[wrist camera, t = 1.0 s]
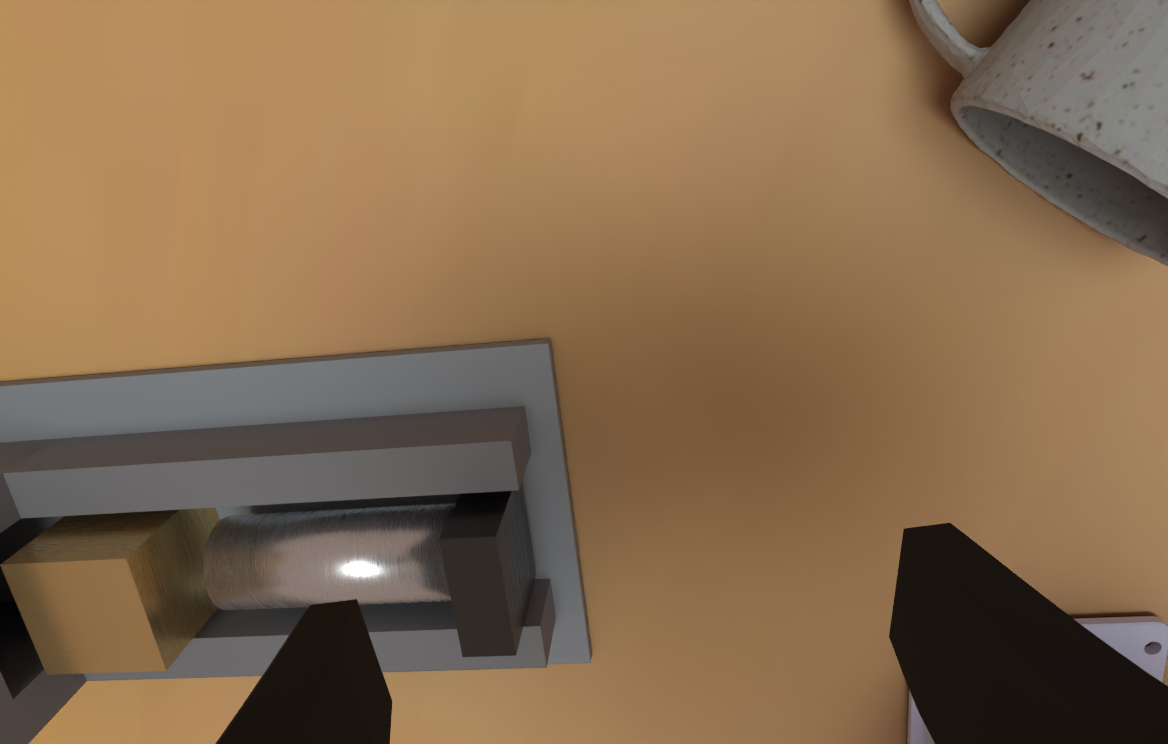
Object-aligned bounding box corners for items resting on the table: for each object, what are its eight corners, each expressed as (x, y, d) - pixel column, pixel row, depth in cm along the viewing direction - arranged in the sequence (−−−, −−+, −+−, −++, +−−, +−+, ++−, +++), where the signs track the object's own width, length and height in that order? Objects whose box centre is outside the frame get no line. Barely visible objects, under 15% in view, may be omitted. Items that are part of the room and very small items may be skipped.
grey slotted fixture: (591, 653, 29) (572, 817, 23) (-9, 672, 32) (-175, 822, 25) (550, 338, 25) (513, 431, 18) (-135, 392, 28) (-372, 488, 21)
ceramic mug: (1374, -22, 20) (1779, -79, 12) (1123, 255, 22) (1336, 338, 15) (1033, -283, 19) (1262, -510, 11) (814, 42, 21) (887, 24, 14)
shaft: (536, 574, 27) (516, 655, 23) (266, 585, 28) (206, 665, 24) (519, 468, 26) (495, 536, 22) (237, 485, 27) (168, 552, 23)
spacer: (238, 582, 28) (166, 671, 24) (135, 586, 29) (46, 674, 25) (208, 482, 27) (125, 558, 23) (100, 489, 28) (-1, 564, 23)
